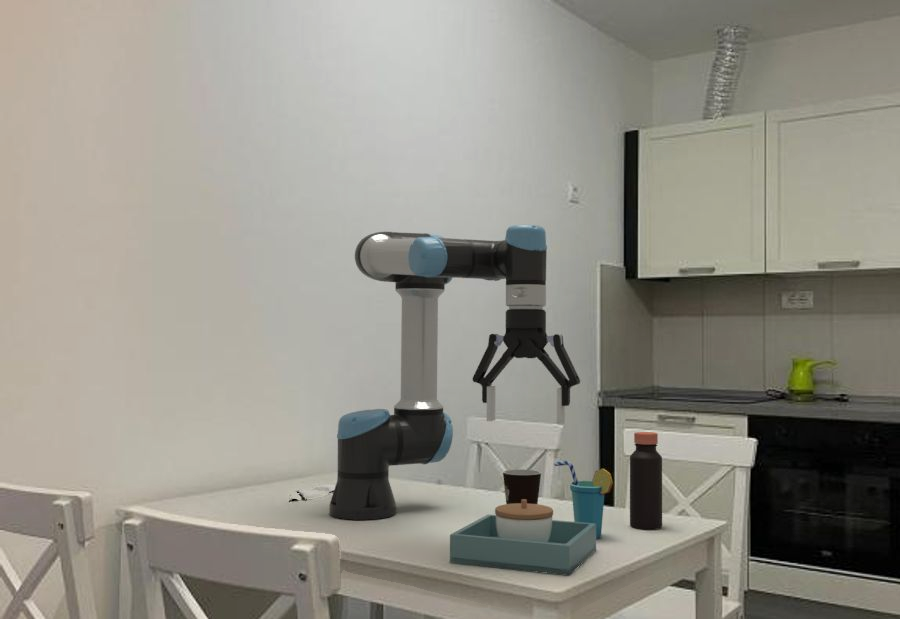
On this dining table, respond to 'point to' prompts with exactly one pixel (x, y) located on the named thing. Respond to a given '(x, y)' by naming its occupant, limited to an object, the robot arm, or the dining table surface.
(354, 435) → the robot arm
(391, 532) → the dining table surface
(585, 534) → the tote
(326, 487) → the cloth
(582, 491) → the cup
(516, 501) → the coffee mug
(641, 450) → the bottle
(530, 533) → the lidded jar
